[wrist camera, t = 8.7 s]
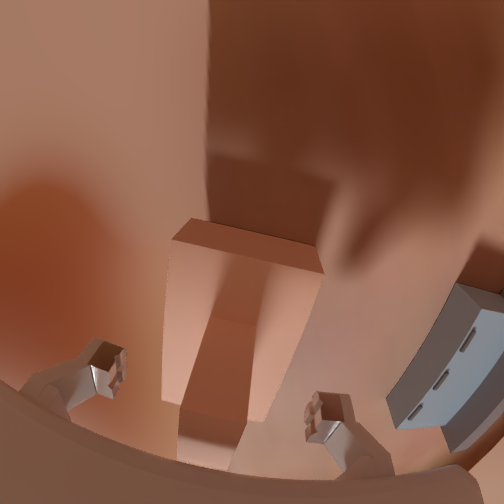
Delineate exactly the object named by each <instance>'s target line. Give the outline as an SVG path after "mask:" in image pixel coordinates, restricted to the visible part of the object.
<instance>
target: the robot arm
mask: <svg viewBox="0 0 504 504" xmlns="http://www.w3.org/2000/svg"><path fill="white" fill-rule="evenodd" d="M126 355H127V352H126V349H125V348H122V347H120V346H117V345H114V344H112V343H109V342H107V341H104V340H101V339H99V338H96V337H95V338H93V339H92V340H91V341H90V343H89V344H88V345H87V347H86V348H85V349H84V350H83V352H82V353H81V354H80V356H79V357H78V358H77V360H76V359H72V360H69V361H66V362H64V363H61V364H58V365H56V366H53V367H50V368H48V369H45V370H42V371H40V372H37V373H34V374H32V375H31V377H30V378H29V379H28V381H27V382H26V383H25V384H24V386H23V387H22V389H21V390H20V391H17V390H16V389H14V388H12V387H11V386H10V385H8V384H7V383H5V382H4V381H3V380H1V379H0V504H484V503H483V498H482V494H481V490H480V487H479V484H478V482H477V480H476V479H475V478H474V477H473V476H472V475H471V474H470V473H469V472H468V471H466V470H465V469H464V468H463V467H461V466H460V465H457V464H452V465H447V466H443V467H439V468H435V469H430V470H425V471H420V472H414V473H408V474H402V475H395V472H394V468H393V463H392V459H391V455H390V453H389V452H388V451H387V450H386V449H385V448H384V447H383V446H382V445H381V444H380V443H379V442H378V441H377V440H376V439H375V438H374V437H373V436H372V435H371V434H370V433H369V432H368V431H367V430H366V429H365V428H364V427H363V426H362V425H361V424H360V423H358V422H356V420H355V416H354V411H353V407H352V403H351V398H350V395H349V394H339V393H338V394H337V393H328V392H318V391H316V392H315V393H314V395H313V396H312V399H313V401H311V402H309V403H308V405H307V407H306V410H305V415H304V421H305V423H306V424H307V426H308V427H307V428H306V430H305V436H306V442H309V443H320V444H324V446H325V447H326V449H327V450H328V451H329V453H330V454H331V456H332V457H333V459H334V460H335V461H336V463H337V464H338V466H339V467H340V469H341V470H342V471H343V473H342V474H341V475H340V476H339V477H338V478H337V479H335V480H293V479H279V478H267V477H258V476H250V475H243V474H236V473H230V472H224V471H219V470H213V469H208V468H204V467H199V466H195V465H190V464H186V463H182V462H179V461H175V460H171V459H168V458H164V457H161V456H157V455H154V454H151V453H148V452H145V451H142V450H139V449H136V448H133V447H130V446H127V445H125V444H122V443H119V442H117V441H114V440H112V439H109V438H106V437H104V436H102V435H100V434H97V433H95V432H93V431H90V430H88V429H86V428H84V427H82V426H79V425H77V424H75V423H73V422H72V421H71V419H70V416H69V414H68V412H67V411H68V410H70V409H71V408H73V407H75V406H76V405H78V404H80V403H82V402H83V401H85V400H87V399H89V398H90V397H92V396H94V395H95V394H96V393H98V394H101V395H103V396H106V397H109V398H111V399H114V397H115V396H116V394H117V392H118V390H119V383H121V382H123V381H124V379H125V376H126V373H127V368H128V363H127V361H126V359H125V357H126Z"/></svg>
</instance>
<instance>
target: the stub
mask: <svg viewBox="0 0 504 504" xmlns="http://www.w3.org/2000/svg"><path fill="white" fill-rule="evenodd" d="M324 275H325V274H324V271H323V268H322V265H321V262H320V260H319V257H318V254H317V251H316V248H315V246H311V245H307V244H303V243H299V242H295V241H290V240H286V239H282V238H278V237H273V236H269V235H265V234H261V233H256V232H252V231H247V230H243V229H239V228H234V227H230V226H225V225H221V224H216V223H212V222H207V221H202V220H198V219H194V218H191V219H190V220H189V221H188V222H187V223H186V224H185V225H184V226H183V227H182V229H181V230H180V231H179V232H178V233H177V234H176V235H175V236H174V237H173V238H172V239H171V246H170V256H169V266H168V276H167V287H166V300H165V316H164V331H163V356H162V357H163V358H162V400H164V401H168V402H171V403H175V404H178V405H181V406H180V414H179V429H178V446H177V460H180V461H184V462H188V463H193V464H197V465H202V466H206V467H211V468H216V469H221V470H227V468H228V466H229V464H230V462H231V459H232V457H233V455H234V452H235V450H236V448H237V445H238V443H239V441H240V438H241V436H242V434H243V431H244V429H245V426H246V424H247V420H251V421H258V422H264V420H265V418H266V416H267V413H268V411H269V409H270V407H271V405H272V403H273V401H274V398H275V396H276V394H277V392H278V390H279V387H280V385H281V383H282V381H283V378H284V376H285V374H286V371H287V369H288V367H289V365H290V362H291V360H292V357H293V355H294V353H295V350H296V348H297V345H298V343H299V341H300V338H301V336H302V333H303V331H304V328H305V326H306V323H307V320H308V318H309V315H310V313H311V310H312V307H313V305H314V302H315V300H316V297H317V294H318V291H319V289H320V286H321V283H322V280H323V278H324Z"/></svg>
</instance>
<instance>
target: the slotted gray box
mask: <svg viewBox="0 0 504 504" xmlns="http://www.w3.org/2000/svg"><path fill="white" fill-rule="evenodd" d="M386 401H387V404H388V407H389V410H390V413H391V416H392V419H393V423H394V426H395V429H413V428H425V427H435V426H440V427H441V429H442V432H443V434H444V437H445V440H446V442H447V445H448V447H449V450H450V453H454V452H458V451H462V450H466V449H468V448H469V447H470V446H471V445H472V444H473V443H474V442H475V441H476V440H477V439H478V438H479V437H481V436H482V435H483V434H484V433H485V432H486V431H487V429H488V428H489V427H490V426H491V425H492V424H493V423H494V422H495V421H496V420H497V419H498V418H499V417H500V416H501V415H502V413H503V412H504V288H503V290H502V292H501V294H496V293H492V292H489V291H485V290H482V289H478V288H475V287H471V286H467V285H464V284H460V283H455V285H454V287H453V289H452V291H451V294H450V296H449V298H448V300H447V302H446V304H445V305H444V307H443V309H442V311H441V313H440V315H439V317H438V319H437V321H436V322H435V324H434V326H433V328H432V329H431V331H430V333H429V335H428V336H427V338H426V340H425V341H424V343H423V345H422V346H421V348H420V350H419V351H418V353H417V354H416V356H415V358H414V359H413V361H412V362H411V364H410V365H409V367H408V368H407V370H406V371H405V373H404V374H403V376H402V377H401V379H400V380H399V381H398V383H397V384H396V386H395V387H394V388H393V390H392V391H391V392H390V394H389V395H388V397H387V398H386Z"/></svg>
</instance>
